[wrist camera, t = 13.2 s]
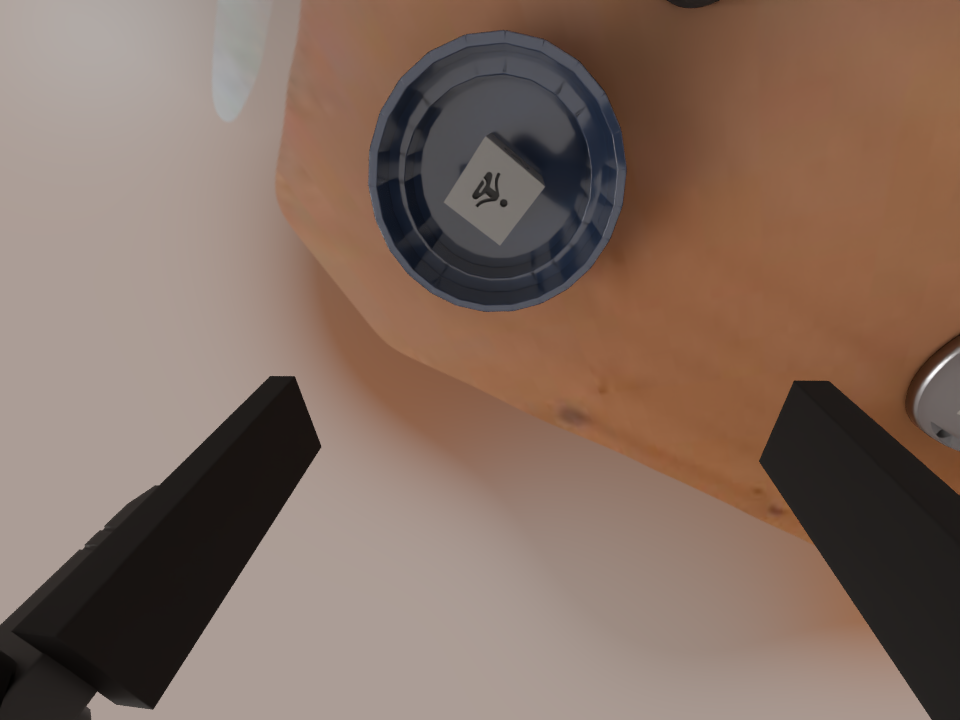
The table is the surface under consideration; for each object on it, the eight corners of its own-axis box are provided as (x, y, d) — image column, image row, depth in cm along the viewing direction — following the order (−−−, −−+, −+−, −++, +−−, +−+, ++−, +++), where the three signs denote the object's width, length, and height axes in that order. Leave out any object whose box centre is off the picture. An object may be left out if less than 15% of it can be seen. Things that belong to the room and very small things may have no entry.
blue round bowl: (621, 33, 26) (645, 13, 21) (598, 281, 35) (610, 309, 30) (373, 60, 28) (339, 47, 23) (412, 286, 37) (394, 314, 32)
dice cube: (491, 133, 29) (485, 136, 25) (542, 176, 30) (545, 186, 26) (454, 190, 31) (443, 202, 27) (503, 228, 33) (499, 245, 28)
